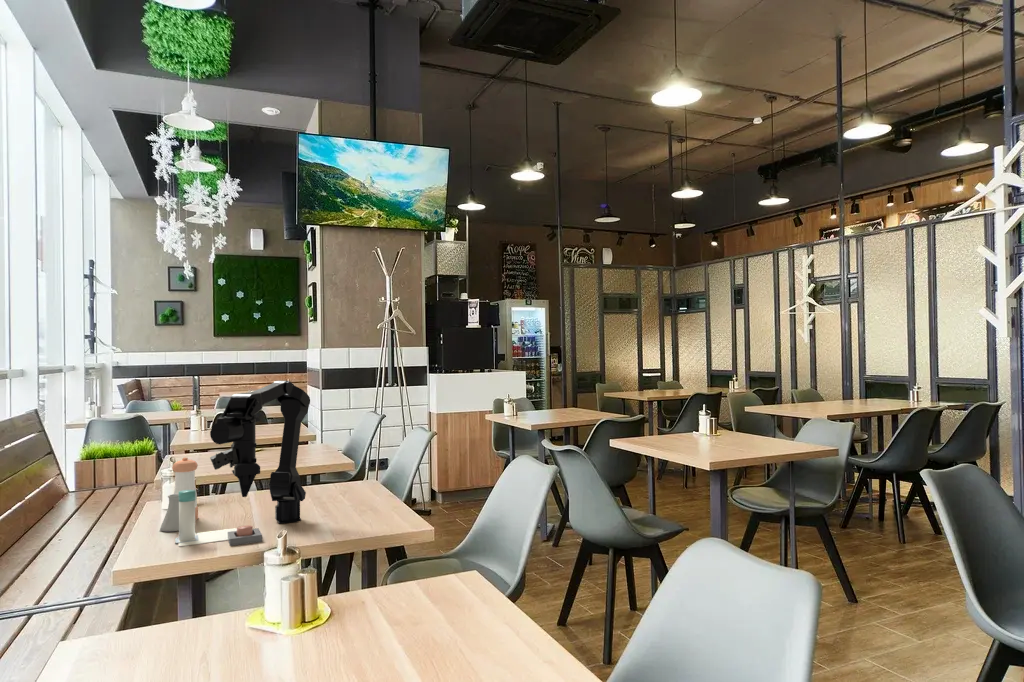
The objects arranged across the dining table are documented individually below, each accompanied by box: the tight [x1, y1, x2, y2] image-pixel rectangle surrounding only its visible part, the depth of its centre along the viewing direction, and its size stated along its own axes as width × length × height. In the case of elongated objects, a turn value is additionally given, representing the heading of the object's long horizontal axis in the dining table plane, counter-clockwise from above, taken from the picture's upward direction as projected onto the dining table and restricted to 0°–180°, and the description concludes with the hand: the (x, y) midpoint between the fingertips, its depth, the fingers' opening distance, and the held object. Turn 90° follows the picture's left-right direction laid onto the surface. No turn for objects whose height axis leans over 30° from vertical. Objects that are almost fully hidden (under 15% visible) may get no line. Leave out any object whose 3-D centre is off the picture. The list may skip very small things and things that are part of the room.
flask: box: [159, 493, 179, 532], centre depth 190 cm, size 7×7×10 cm
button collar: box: [227, 527, 263, 547], centre depth 178 cm, size 8×8×2 cm
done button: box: [236, 524, 254, 537], centre depth 178 cm, size 4×4×3 cm
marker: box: [178, 489, 197, 541], centre depth 178 cm, size 4×4×13 cm
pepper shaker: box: [171, 457, 199, 521], centre depth 201 cm, size 7×7×19 cm
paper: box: [174, 527, 237, 548], centre depth 181 cm, size 17×12×1 cm
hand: (244, 496), depth 178 cm, fingers closed
